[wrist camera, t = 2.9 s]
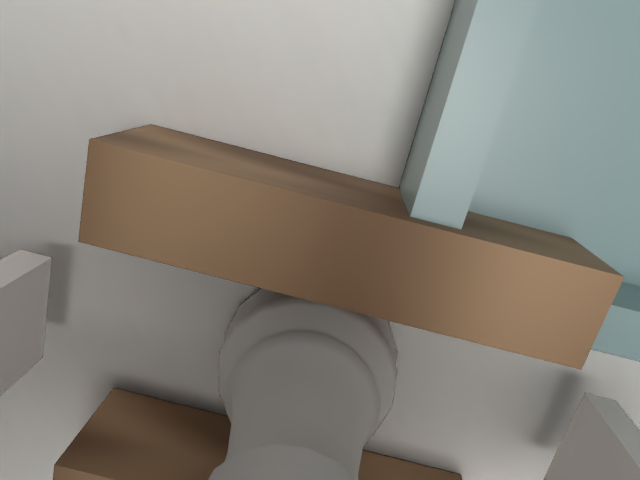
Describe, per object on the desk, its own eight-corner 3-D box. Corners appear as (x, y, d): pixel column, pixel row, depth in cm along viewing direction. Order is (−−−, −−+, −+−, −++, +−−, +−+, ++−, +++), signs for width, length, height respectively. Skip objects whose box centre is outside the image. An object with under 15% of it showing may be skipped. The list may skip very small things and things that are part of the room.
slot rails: (105, 445, 15) (47, 531, 12) (151, 124, 12) (89, 139, 9) (438, 528, 15) (458, 633, 12) (561, 230, 12) (624, 276, 9)
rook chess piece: (214, 276, 13) (27, 543, 6) (390, 261, 13) (443, 529, 5) (241, 424, 15) (117, 805, 7) (401, 415, 14) (457, 809, 7)
